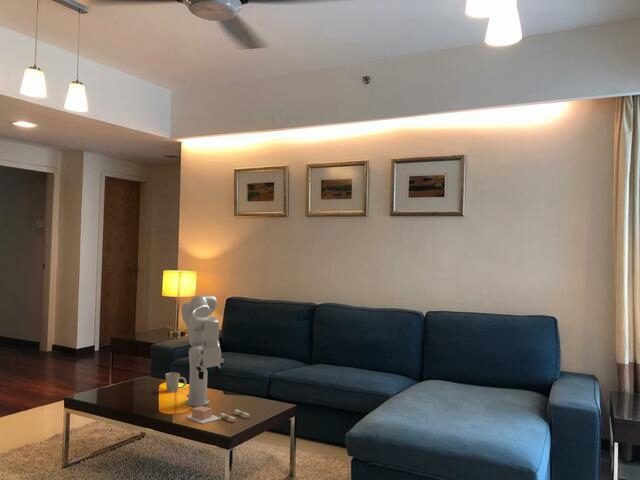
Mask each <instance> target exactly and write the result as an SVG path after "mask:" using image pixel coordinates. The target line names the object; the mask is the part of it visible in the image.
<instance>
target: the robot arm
mask: <svg viewBox="0 0 640 480" xmlns="http://www.w3.org/2000/svg"><path fill="white" fill-rule="evenodd" d="M217 307H218V300H217V297H216V296H214V295H212V294H211V295H208V294H207V295H206V294H205V295H204V294H203V295H202V294H201V295H199V294H198V295H195V296H193V297H191V299H190V301H188V302H185V303H183V304H182V305H181V317H182V320H183V322H184V324H185V326H186V328H187V337H188V341H189V344H190V346H191V347H190V348H189V350H188V359H189V360H188V361H189V381H188V382H189V386H188V387H189V388H188V394H186V396H185V397H187V400H186V401H185V404H186V406H188V407H199V406H203V407H205V406H207V405H209V404H210V400H209V399H207V393H208V369H207V368H214V376H216V377H220V373H221V369H222V367H223V365H224V362H225V358H223V357H222V349H221V344H220V340H219V334H220V320H219V319H218V317H215V316H211V315H212V314H213V313H214V312H215V311H216V309H217Z"/></svg>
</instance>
